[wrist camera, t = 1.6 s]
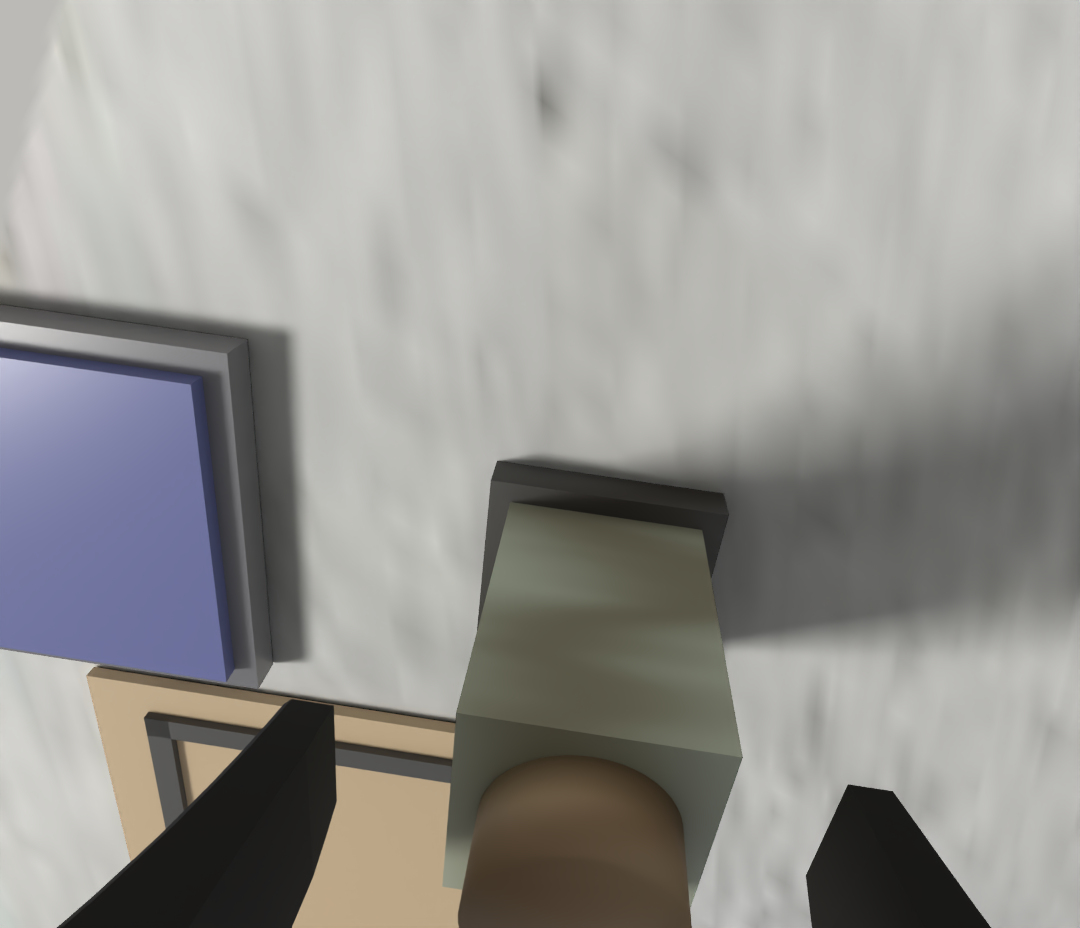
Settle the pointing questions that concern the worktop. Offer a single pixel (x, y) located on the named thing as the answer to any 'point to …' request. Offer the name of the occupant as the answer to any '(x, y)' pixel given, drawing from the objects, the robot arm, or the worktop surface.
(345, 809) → the sheet
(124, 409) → the ink pad
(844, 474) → the worktop surface
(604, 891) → the stamp
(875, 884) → the robot arm
